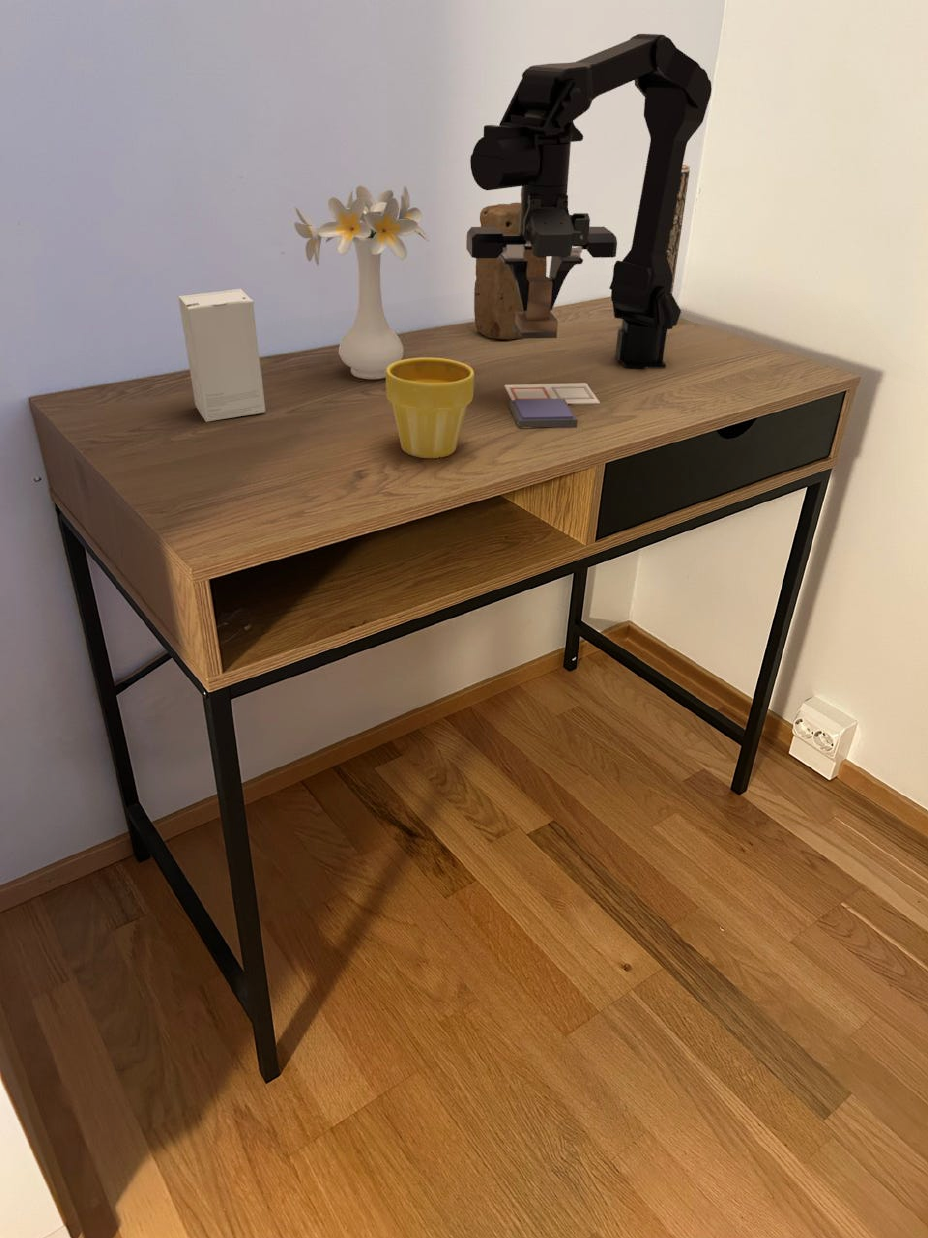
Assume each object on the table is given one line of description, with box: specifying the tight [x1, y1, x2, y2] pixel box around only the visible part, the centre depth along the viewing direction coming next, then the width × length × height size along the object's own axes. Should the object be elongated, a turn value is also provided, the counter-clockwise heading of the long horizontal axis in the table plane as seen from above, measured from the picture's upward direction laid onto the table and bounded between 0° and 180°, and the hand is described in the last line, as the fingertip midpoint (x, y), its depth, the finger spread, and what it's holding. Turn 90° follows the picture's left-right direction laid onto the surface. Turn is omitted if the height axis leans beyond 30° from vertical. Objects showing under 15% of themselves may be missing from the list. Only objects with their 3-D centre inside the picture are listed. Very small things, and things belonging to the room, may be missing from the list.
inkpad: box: [508, 399, 578, 429], centre depth 125 cm, size 8×8×1 cm
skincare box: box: [178, 288, 266, 423], centre depth 120 cm, size 8×6×15 cm
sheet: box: [504, 382, 601, 405], centre depth 133 cm, size 12×8×1 cm, turn 97°
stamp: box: [515, 276, 559, 340], centre depth 126 cm, size 5×5×7 cm
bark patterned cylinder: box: [666, 164, 691, 295], centre depth 159 cm, size 7×7×25 cm
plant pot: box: [385, 357, 475, 459], centre depth 113 cm, size 10×10×10 cm
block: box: [473, 202, 548, 341], centre depth 152 cm, size 11×8×20 cm
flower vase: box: [293, 184, 429, 380], centre depth 131 cm, size 13×18×25 cm
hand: (536, 310), depth 126 cm, fingers closed on stamp, 3 cm apart
